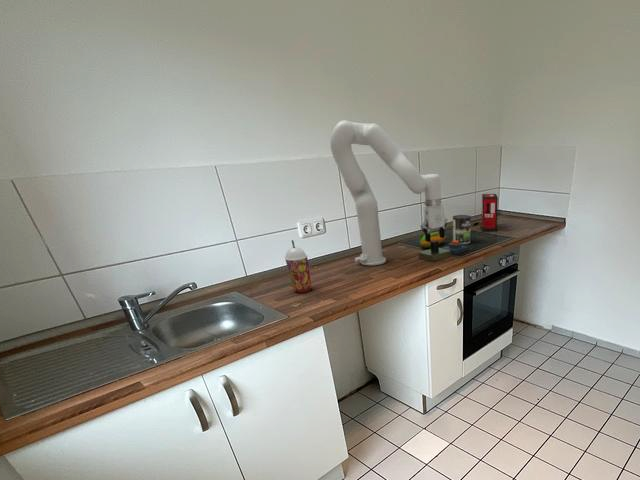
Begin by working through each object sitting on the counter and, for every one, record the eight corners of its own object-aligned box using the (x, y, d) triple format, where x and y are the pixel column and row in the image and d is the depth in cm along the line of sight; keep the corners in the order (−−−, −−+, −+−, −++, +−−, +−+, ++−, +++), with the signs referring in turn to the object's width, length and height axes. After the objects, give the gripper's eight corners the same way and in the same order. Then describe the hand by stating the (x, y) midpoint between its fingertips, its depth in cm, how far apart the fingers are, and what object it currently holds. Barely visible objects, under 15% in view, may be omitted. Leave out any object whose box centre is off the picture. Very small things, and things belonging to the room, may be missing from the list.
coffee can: (474, 242, 221) (474, 216, 213) (460, 245, 215) (460, 218, 208) (462, 239, 228) (462, 214, 220) (449, 242, 222) (448, 216, 215)
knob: (434, 252, 191) (434, 241, 188) (429, 251, 194) (428, 240, 191) (440, 251, 194) (440, 240, 191) (434, 249, 196) (434, 239, 193)
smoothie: (289, 290, 157) (277, 240, 147) (308, 285, 162) (297, 236, 152) (298, 295, 152) (286, 244, 142) (317, 289, 157) (307, 240, 147)
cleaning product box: (496, 231, 244) (497, 197, 234) (482, 231, 244) (483, 197, 234) (494, 225, 258) (496, 193, 248) (481, 226, 258) (482, 194, 248)
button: (455, 245, 200) (455, 242, 199) (450, 244, 202) (450, 241, 202) (460, 244, 202) (460, 240, 202) (455, 243, 205) (455, 239, 204)
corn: (415, 234, 206) (440, 227, 219) (415, 248, 210) (439, 241, 223) (425, 237, 202) (450, 230, 215) (425, 251, 206) (449, 244, 219)
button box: (454, 254, 198) (454, 247, 196) (442, 251, 204) (441, 244, 202) (468, 250, 205) (468, 243, 203) (456, 247, 210) (456, 240, 208)
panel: (432, 261, 188) (432, 255, 187) (418, 258, 194) (418, 251, 193) (450, 256, 196) (450, 250, 194) (437, 252, 202) (437, 246, 201)
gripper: (425, 206, 174) (427, 244, 183) (451, 201, 185) (452, 237, 194) (414, 204, 179) (417, 242, 188) (440, 199, 189) (442, 235, 198)
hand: (435, 239), depth 191 cm, fingers open, 9 cm apart
